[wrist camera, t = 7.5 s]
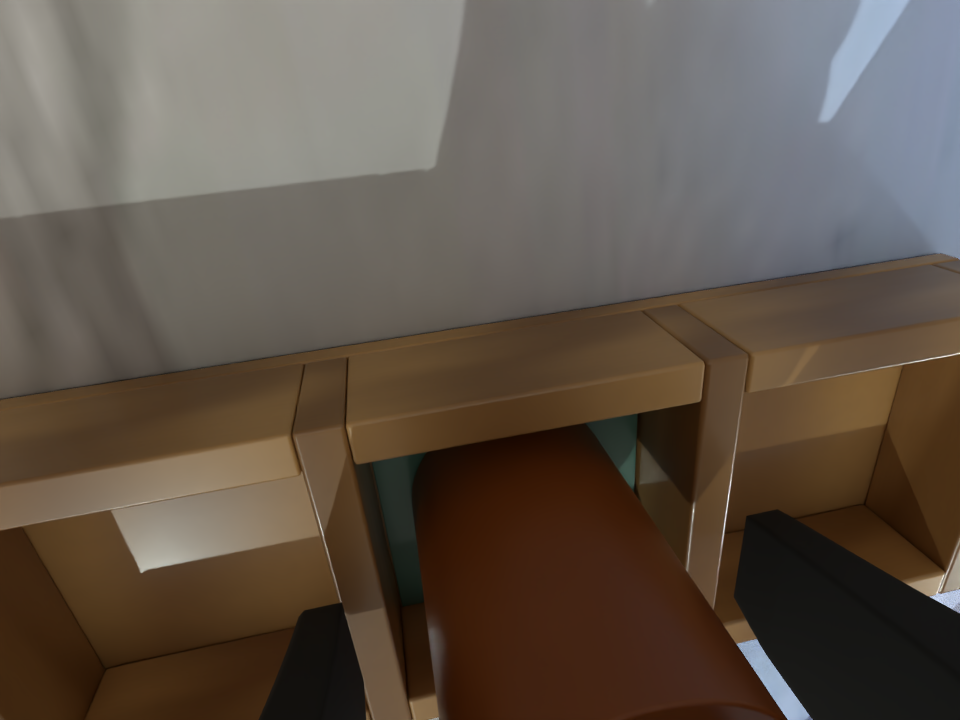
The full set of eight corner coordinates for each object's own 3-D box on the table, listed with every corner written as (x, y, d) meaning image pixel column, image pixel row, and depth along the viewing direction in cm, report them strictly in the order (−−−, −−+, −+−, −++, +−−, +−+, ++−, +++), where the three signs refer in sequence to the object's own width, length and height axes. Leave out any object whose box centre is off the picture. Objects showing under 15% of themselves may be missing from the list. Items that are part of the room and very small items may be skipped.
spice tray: (940, 252, 13) (1090, 294, 10) (868, 507, 16) (967, 588, 14) (-73, 409, 10) (-225, 523, 8) (90, 677, 14) (25, 820, 11)
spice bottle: (605, 385, 12) (965, 821, 5) (603, 541, 14) (857, 1014, 7) (397, 422, 11) (460, 976, 4) (425, 580, 13) (500, 1139, 6)
